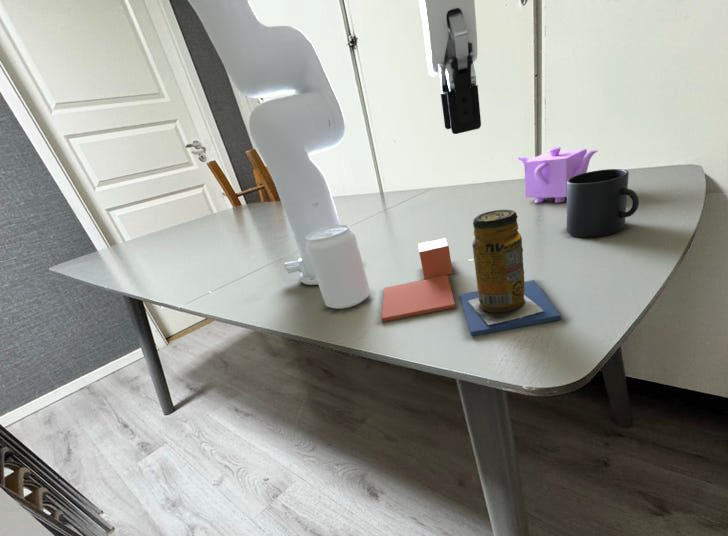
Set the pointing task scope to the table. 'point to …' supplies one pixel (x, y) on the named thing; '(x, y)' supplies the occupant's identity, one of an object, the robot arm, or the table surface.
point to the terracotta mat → (417, 298)
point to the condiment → (499, 268)
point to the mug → (598, 202)
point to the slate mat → (535, 295)
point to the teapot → (553, 172)
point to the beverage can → (338, 266)
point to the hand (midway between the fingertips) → (461, 128)
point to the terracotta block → (435, 258)
